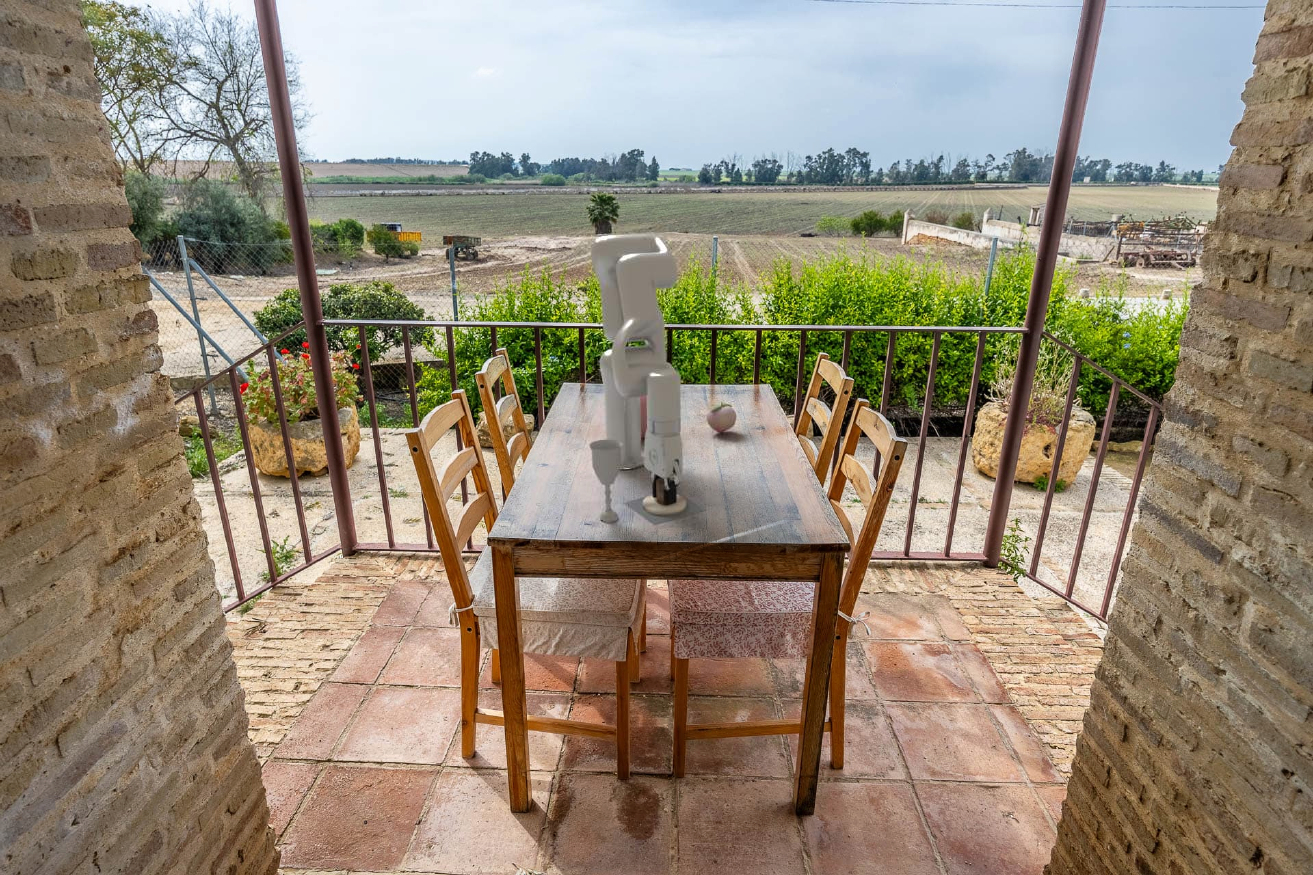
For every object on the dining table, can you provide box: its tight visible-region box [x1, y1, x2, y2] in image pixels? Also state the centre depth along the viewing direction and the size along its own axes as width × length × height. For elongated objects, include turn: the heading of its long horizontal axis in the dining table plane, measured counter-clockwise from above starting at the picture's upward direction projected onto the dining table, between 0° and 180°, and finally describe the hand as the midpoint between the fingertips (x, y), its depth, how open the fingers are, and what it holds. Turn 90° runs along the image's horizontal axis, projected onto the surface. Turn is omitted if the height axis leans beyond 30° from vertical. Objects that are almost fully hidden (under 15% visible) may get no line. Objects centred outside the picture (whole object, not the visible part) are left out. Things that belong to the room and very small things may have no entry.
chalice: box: [588, 439, 623, 523], centre depth 154 cm, size 7×7×18 cm
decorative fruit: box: [706, 401, 737, 434], centre depth 212 cm, size 9×8×10 cm
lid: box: [643, 478, 686, 516], centre depth 161 cm, size 10×10×6 cm
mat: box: [623, 491, 707, 526], centre depth 162 cm, size 14×14×1 cm
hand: (664, 499), depth 162 cm, fingers open, 4 cm apart
